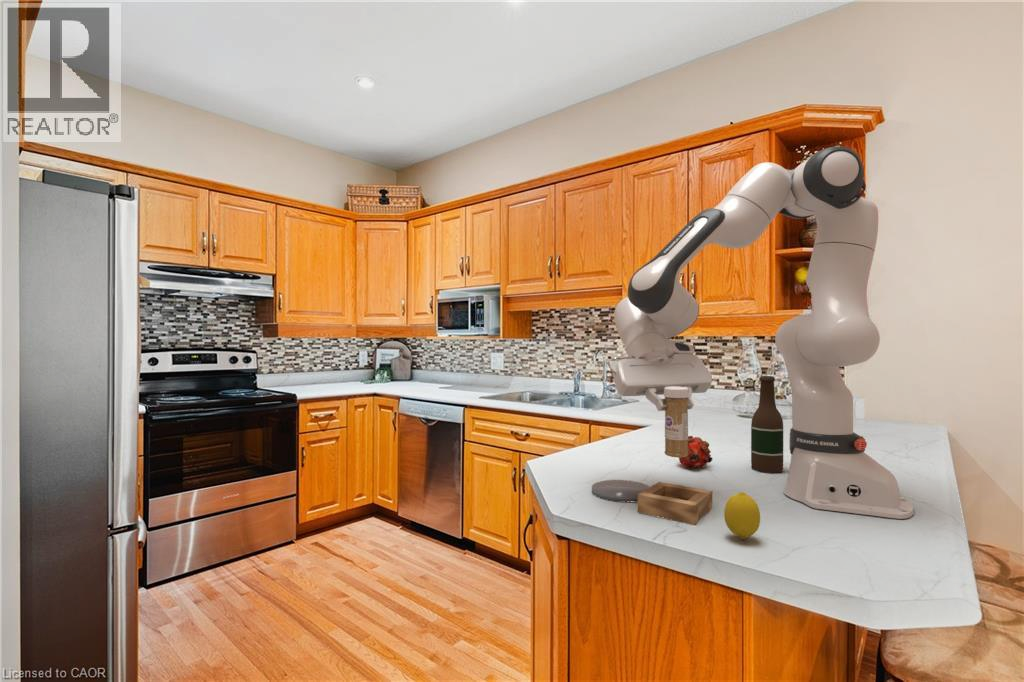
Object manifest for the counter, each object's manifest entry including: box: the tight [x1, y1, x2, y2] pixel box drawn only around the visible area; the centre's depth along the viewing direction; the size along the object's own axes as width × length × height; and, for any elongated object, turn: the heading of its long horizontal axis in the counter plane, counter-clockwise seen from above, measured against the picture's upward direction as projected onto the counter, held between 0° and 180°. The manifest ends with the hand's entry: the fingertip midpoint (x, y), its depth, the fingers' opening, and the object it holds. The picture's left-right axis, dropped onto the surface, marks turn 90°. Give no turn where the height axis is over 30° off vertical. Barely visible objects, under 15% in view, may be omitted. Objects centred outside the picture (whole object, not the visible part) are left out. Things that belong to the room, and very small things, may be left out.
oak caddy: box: [637, 481, 714, 525], centre depth 102 cm, size 11×11×4 cm
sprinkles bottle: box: [663, 386, 689, 459], centre depth 101 cm, size 5×5×14 cm
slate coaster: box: [591, 479, 650, 503], centre depth 113 cm, size 13×13×1 cm
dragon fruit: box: [678, 435, 713, 470], centre depth 136 cm, size 8×8×12 cm
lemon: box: [723, 491, 761, 540], centre depth 87 cm, size 6×6×8 cm
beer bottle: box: [750, 375, 784, 475], centre depth 132 cm, size 8×8×24 cm
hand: (676, 408), depth 101 cm, fingers closed on sprinkles bottle, 4 cm apart
